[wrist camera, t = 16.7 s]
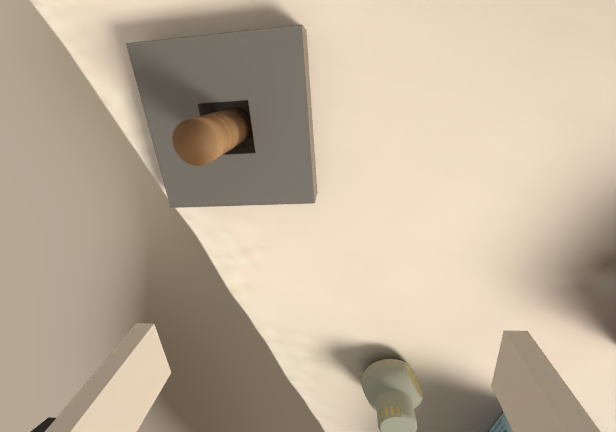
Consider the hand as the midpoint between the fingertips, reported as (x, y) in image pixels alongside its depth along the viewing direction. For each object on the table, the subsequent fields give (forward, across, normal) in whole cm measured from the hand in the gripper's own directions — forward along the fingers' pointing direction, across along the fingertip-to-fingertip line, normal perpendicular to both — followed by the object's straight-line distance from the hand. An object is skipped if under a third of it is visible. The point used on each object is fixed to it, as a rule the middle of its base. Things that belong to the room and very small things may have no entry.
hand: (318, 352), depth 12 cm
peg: (+33, -13, +5) cm, 36 cm away
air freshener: (+33, +8, -40) cm, 52 cm away
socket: (+33, -13, +5) cm, 36 cm away
